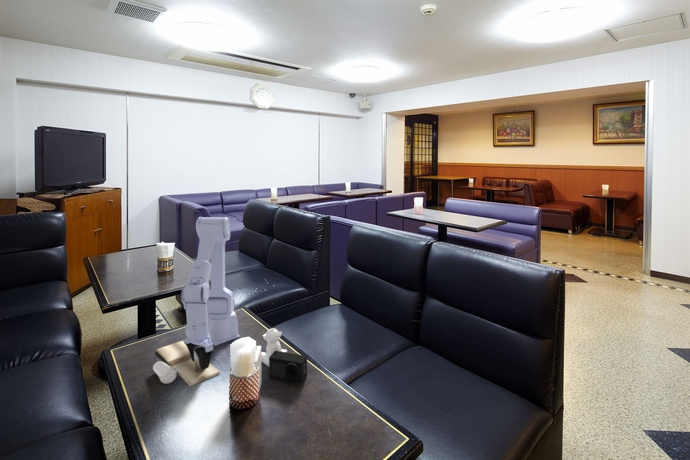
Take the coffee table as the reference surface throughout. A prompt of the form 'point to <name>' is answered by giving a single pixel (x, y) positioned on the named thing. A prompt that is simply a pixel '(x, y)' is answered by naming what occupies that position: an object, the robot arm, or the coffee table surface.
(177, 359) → the plywood panel
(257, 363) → the ink cartridge box
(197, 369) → the steel peg
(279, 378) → the digital camera
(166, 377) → the white rounded piece
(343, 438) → the coffee table surface
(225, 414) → the coffee table surface
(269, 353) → the seated beast figurine
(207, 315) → the robot arm
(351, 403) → the coffee table surface
